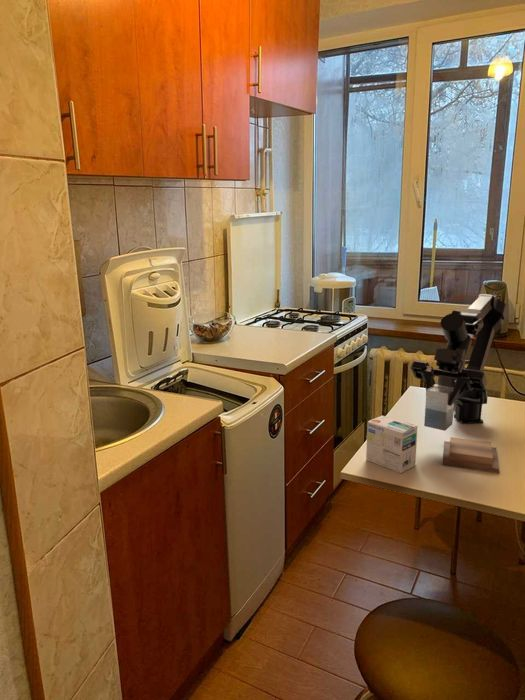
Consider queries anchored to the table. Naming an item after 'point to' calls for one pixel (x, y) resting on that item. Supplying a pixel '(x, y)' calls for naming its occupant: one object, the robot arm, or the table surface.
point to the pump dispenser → (448, 380)
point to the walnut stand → (470, 455)
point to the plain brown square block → (438, 407)
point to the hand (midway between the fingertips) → (438, 402)
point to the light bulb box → (391, 443)
